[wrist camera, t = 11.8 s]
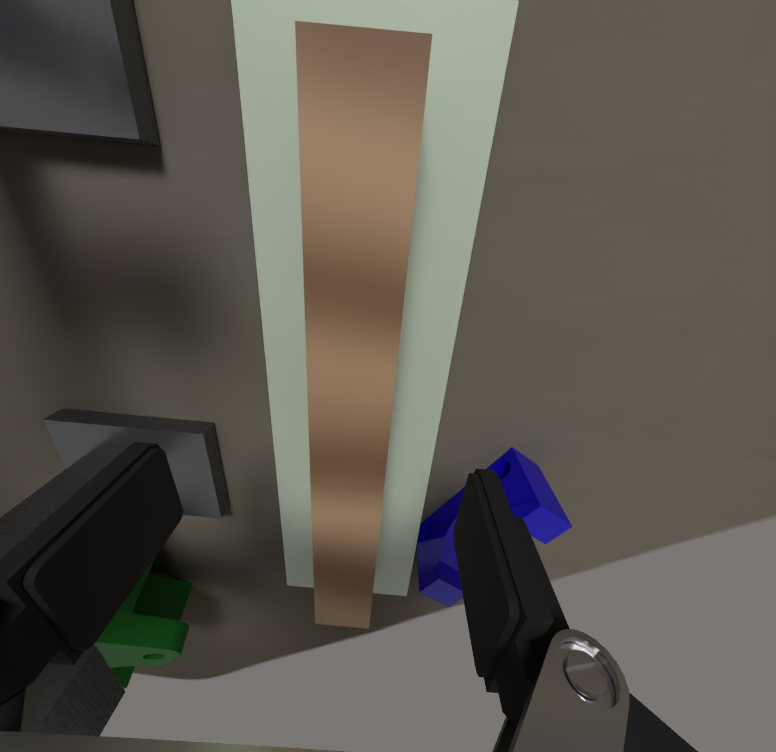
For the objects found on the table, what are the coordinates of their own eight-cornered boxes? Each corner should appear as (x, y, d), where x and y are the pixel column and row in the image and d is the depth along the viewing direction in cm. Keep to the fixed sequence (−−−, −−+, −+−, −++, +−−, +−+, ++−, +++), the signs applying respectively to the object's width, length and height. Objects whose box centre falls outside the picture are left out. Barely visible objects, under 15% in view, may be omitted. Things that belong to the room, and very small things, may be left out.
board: (244, -4, 10) (228, -28, 9) (507, 21, 10) (519, 0, 9) (291, 570, 22) (287, 585, 21) (406, 580, 22) (406, 596, 21)
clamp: (172, 555, 29) (99, 692, 23) (98, 536, 26) (-5, 689, 20) (227, 562, 22) (141, 763, 16) (134, 537, 19) (-12, 775, 13)
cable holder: (457, 548, 21) (469, 617, 17) (415, 525, 20) (419, 592, 16) (555, 476, 18) (594, 541, 14) (511, 444, 17) (541, 505, 13)
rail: (324, 76, 10) (294, 20, 7) (423, 85, 10) (432, 33, 7) (326, 570, 20) (315, 623, 18) (373, 574, 20) (369, 628, 18)
